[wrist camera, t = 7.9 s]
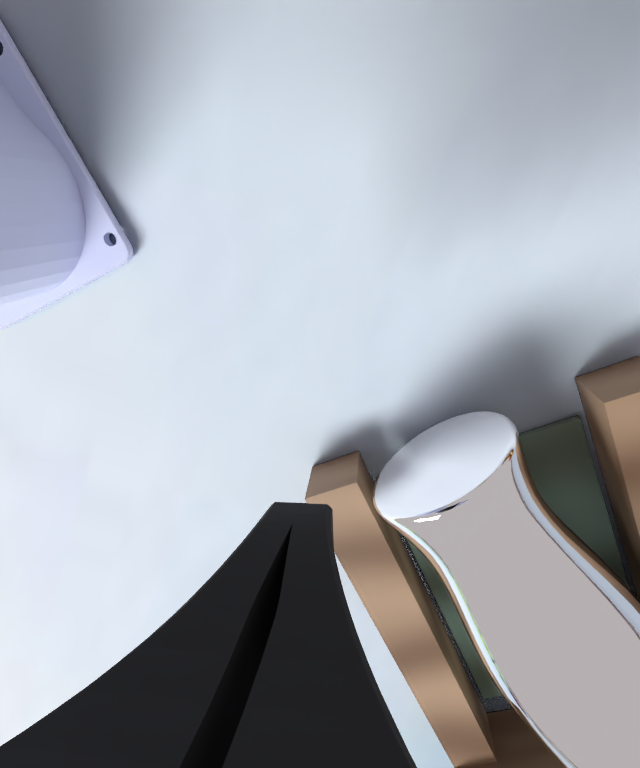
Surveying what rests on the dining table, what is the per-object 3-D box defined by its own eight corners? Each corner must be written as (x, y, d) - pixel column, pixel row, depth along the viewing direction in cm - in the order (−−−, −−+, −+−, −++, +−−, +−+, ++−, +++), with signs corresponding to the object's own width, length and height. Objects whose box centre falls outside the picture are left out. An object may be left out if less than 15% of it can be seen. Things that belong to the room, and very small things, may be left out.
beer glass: (355, 469, 21) (513, 681, 23) (371, 563, 14) (591, 845, 17) (483, 386, 20) (632, 617, 22) (569, 443, 13) (766, 764, 16)
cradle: (312, 466, 21) (299, 522, 17) (638, 355, 17) (709, 397, 14) (455, 734, 27) (468, 816, 24) (716, 695, 24) (779, 785, 20)
